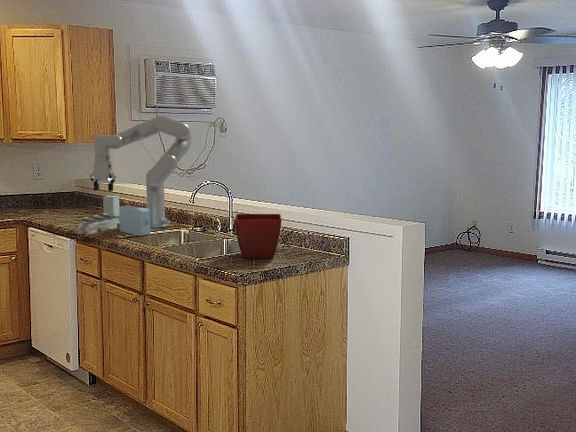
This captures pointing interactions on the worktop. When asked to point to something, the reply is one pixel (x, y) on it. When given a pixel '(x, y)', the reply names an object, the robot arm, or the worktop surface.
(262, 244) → the plant pot
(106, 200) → the skincare box
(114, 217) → the block
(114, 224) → the switch unit
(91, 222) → the block
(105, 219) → the rocker
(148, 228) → the light blue rectangular block
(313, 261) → the worktop surface
